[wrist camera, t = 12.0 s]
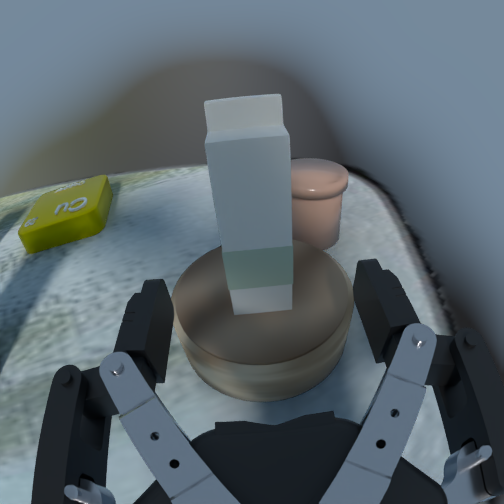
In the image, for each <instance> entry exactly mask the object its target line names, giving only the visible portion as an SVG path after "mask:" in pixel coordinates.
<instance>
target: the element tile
mask: <svg viewBox="0 0 504 504" xmlns="http://www.w3.org/2000/svg"><path fill="white" fill-rule="evenodd" d="M112 197H113V193H112V190H111V187H110V184H109V181H108V177H107V176H106V175H99V176H96V177H93V178H89V179H86V180H83V181H80V182H77V183H73V184H71V185H68V186H65V187H62V188H59V189H56V190H54V191H51V192H48V193H45V194H43V195H42V196H40V198H39V199H38V200H37V202H36V203H35V205H34V206H33V208H32V209H31V211H30V213H29V214H28V216H27V217H26V219H25V221H24V222H23V224H22V226H21V227H20V229H19V231H18V235H19V237H20V239H21V241H22V243H23V245H24V247H25V249H26V251H27V253H28V254H33V253H37V252H40V251H43V250H46V249H50V248H53V247H56V246H59V245H63V244H66V243H70V242H73V241H76V240H80V239H83V238H87V237H90V236H93V235H95V234H97V233H99V232H100V231H102V230H103V228H104V227H105V225H106V221H107V217H108V212H109V208H110V204H111V201H112Z"/></svg>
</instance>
